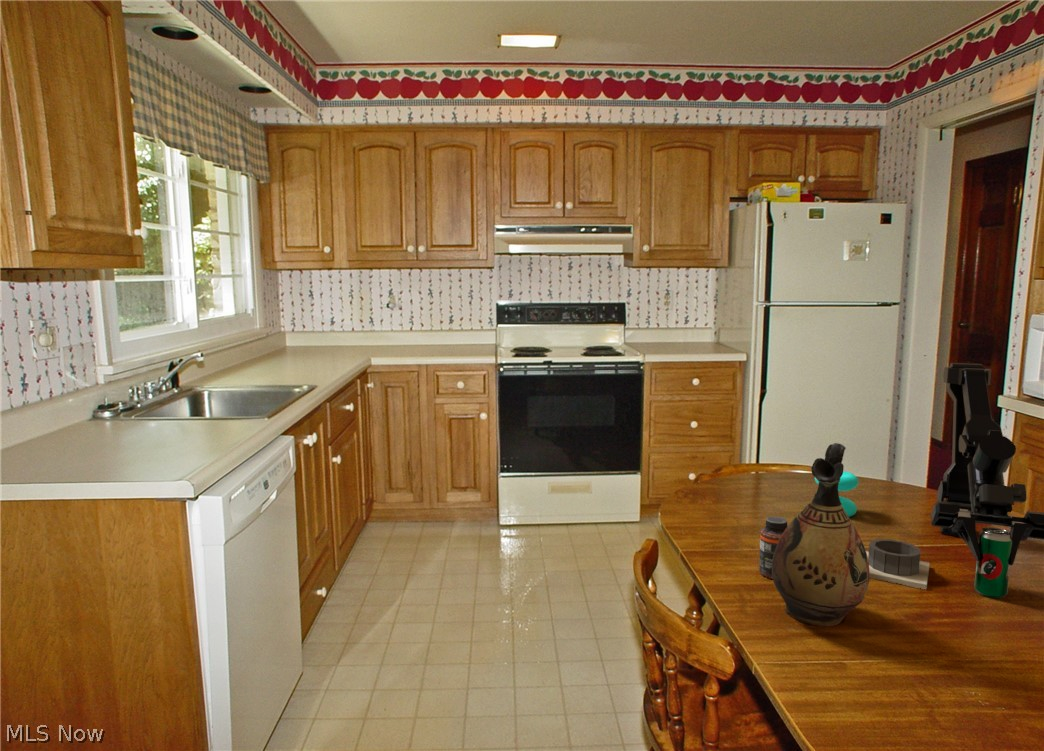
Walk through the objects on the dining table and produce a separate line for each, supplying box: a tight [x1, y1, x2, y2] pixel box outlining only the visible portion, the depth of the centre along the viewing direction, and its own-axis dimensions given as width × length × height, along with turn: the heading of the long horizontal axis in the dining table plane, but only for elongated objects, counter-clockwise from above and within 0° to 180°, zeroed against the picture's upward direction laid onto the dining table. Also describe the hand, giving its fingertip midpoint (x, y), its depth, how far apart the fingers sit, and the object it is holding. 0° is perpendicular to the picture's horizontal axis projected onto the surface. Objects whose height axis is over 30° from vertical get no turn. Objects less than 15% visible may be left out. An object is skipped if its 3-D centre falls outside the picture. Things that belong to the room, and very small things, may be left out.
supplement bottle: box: [758, 516, 788, 580], centre depth 132 cm, size 6×6×11 cm
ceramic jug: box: [771, 442, 871, 627], centre depth 116 cm, size 17×15×30 cm
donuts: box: [814, 470, 859, 518], centre depth 168 cm, size 10×10×10 cm
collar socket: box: [866, 538, 930, 591], centre depth 134 cm, size 12×12×5 cm
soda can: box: [973, 526, 1013, 599], centre depth 124 cm, size 5×5×12 cm
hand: (994, 562), depth 122 cm, fingers closed on soda can, 5 cm apart
